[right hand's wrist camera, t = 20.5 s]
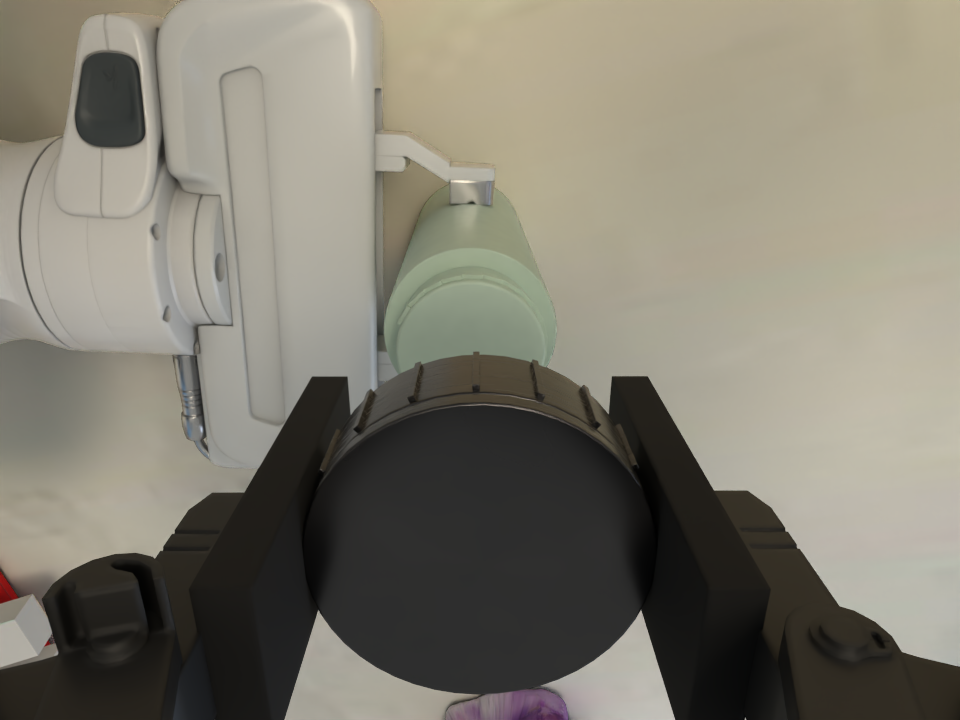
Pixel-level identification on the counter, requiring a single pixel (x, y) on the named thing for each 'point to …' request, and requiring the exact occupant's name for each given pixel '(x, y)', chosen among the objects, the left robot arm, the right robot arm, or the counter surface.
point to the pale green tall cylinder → (468, 288)
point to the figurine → (511, 707)
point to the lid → (479, 527)
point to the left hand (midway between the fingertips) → (490, 263)
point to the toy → (22, 629)
